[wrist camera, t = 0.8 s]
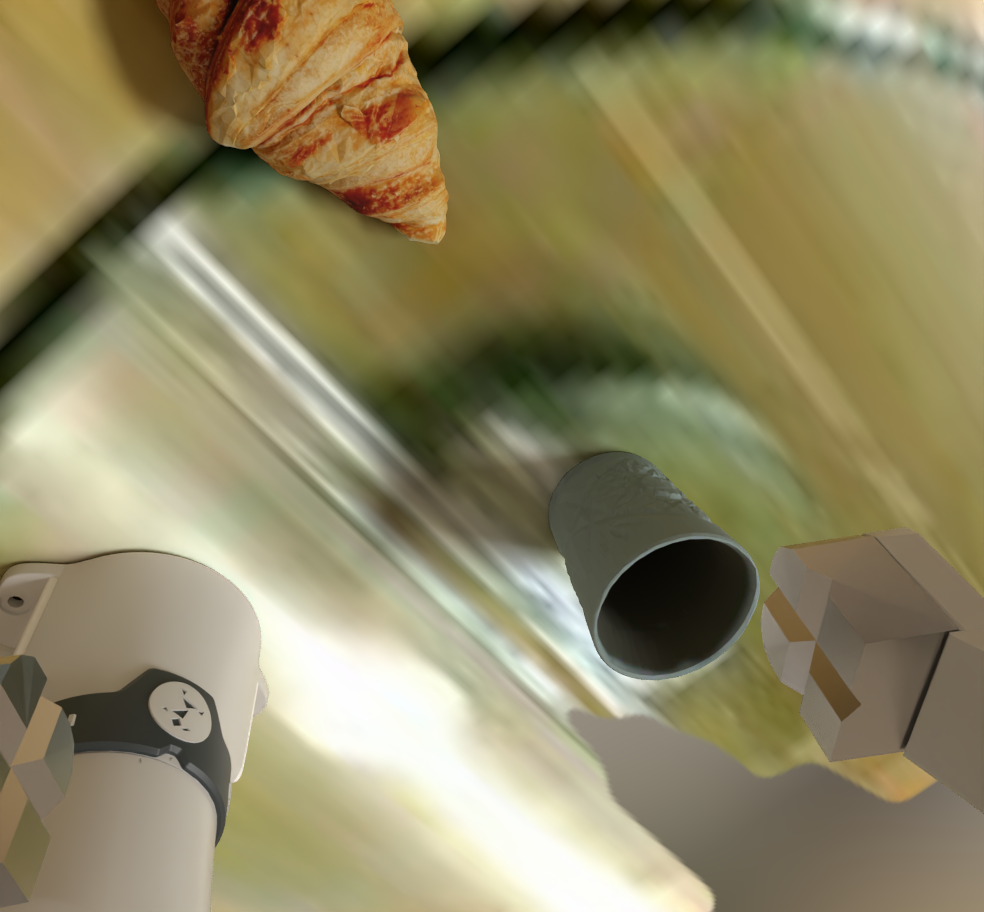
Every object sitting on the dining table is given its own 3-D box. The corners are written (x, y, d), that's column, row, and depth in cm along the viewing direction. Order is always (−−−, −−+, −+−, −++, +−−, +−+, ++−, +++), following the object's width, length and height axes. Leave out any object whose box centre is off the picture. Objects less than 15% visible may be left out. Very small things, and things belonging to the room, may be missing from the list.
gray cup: (573, 585, 57) (634, 707, 47) (509, 489, 52) (561, 602, 42) (694, 514, 56) (783, 622, 46) (641, 409, 51) (728, 505, 41)
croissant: (463, 184, 46) (548, 161, 39) (356, 309, 43) (428, 306, 36) (171, -197, 35) (222, -317, 28) (2, -62, 32) (16, -161, 25)
